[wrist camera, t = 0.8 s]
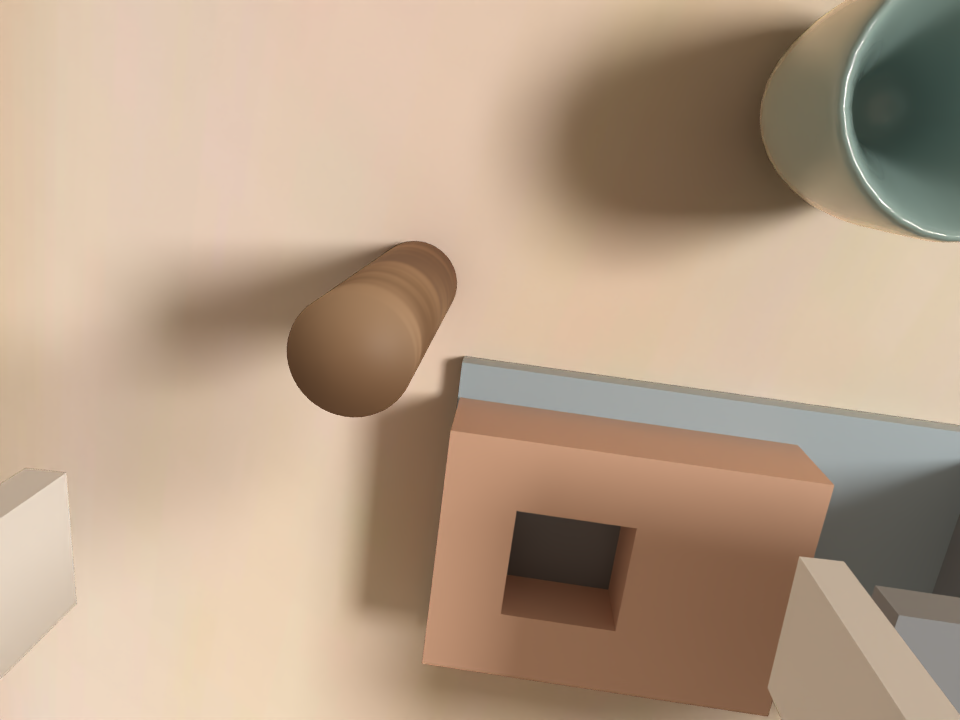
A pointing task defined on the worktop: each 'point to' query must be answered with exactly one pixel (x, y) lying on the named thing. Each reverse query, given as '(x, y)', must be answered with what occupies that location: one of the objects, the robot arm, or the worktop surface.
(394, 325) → the peg
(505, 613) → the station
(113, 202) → the worktop surface
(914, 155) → the cup
